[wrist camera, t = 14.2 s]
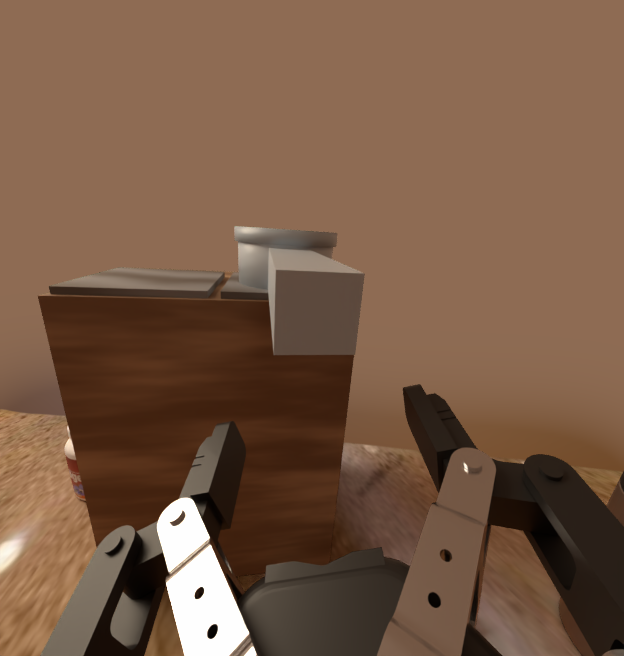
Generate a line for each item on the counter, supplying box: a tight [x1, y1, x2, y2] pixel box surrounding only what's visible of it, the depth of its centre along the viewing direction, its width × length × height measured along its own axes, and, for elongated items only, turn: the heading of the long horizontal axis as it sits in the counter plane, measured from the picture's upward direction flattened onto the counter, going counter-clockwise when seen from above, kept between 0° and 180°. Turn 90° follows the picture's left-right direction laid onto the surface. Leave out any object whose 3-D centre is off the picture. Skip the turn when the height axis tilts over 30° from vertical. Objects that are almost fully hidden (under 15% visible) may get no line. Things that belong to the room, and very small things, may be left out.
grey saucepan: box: [235, 226, 365, 355], centre depth 22 cm, size 23×10×5 cm, turn 9°
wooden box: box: [38, 268, 354, 586], centre depth 35 cm, size 16×24×33 cm, turn 99°
